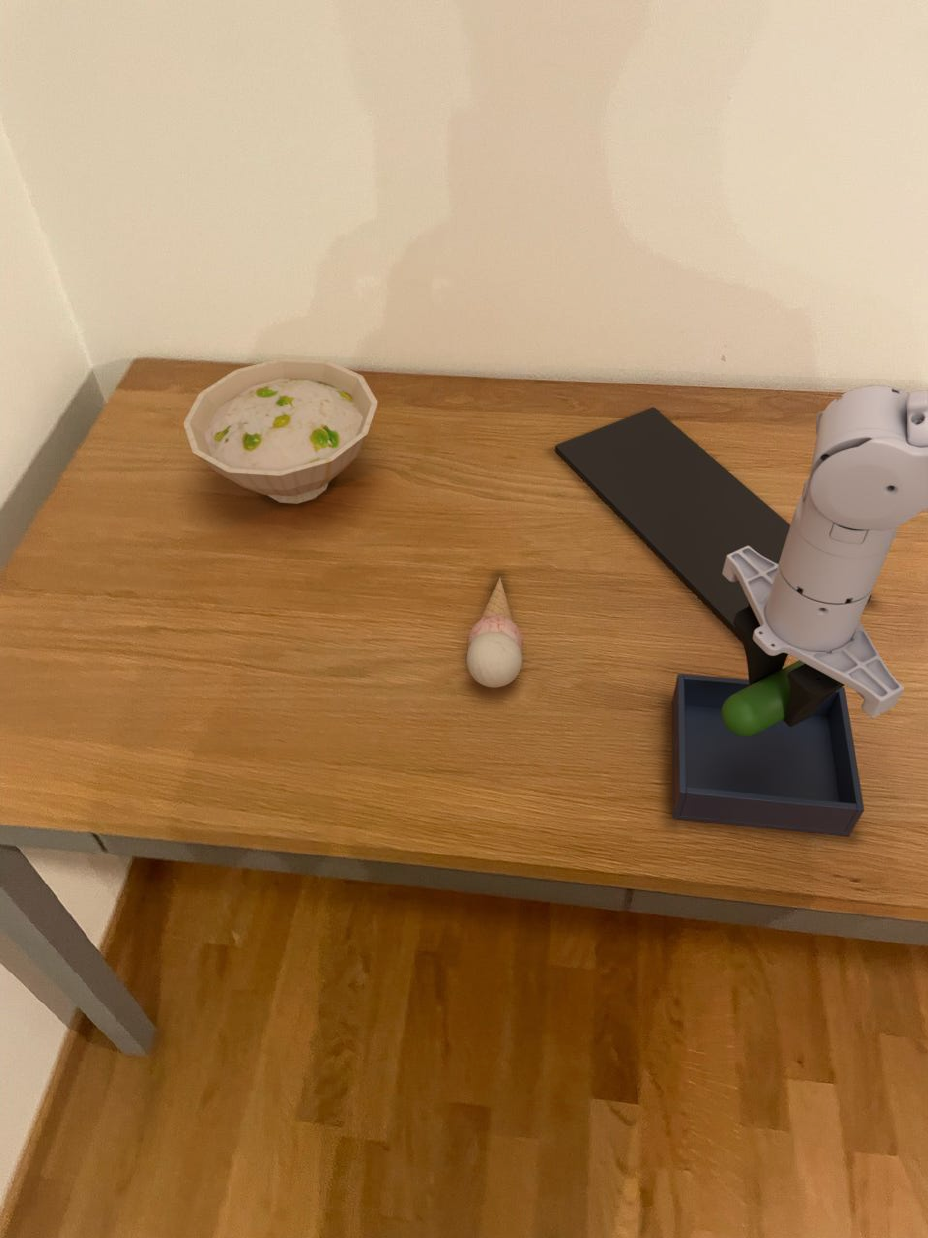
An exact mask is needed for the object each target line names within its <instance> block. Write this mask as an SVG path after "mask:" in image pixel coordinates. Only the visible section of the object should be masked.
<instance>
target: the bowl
mask: <svg viewBox="0 0 928 1238" xmlns="http://www.w3.org/2000/svg"><path fill="white" fill-rule="evenodd" d="M378 404H379V402H378V400H377V398H376V397H375V395H374V392H373V391H372V390H371V388H370V386H369V384H368V382H367V380H366V379H365V377H364V376H363V375H361V374H359V373H358V372H355V371H352V370H351V369H348V368H346V367H344V366H342V365H340V364H338V363H335V362H333V361H330V360H328V359H310V358H293V357H292V358H291V357H290V358H289V357H288V358H287V357H285V358H284V357H281V358H276V359H272V360H269V361H265V362H261V363H257V364H253V365H249V366H245V367H241V368H237V369H235V370H233V371H232V372H230V373H229V374H226V376H223V377H222V378H221V379H219V380H218V381H216V382H215V383H212V384H211V385H209V386H208V387H207V388H205V389H204V390H202V391H201V392H199V394H198V395H197V397H196V398H195V400H194V403H193V405H192V406H191V408H190V410H189V412H188V413H187V415H186V417H185V419H184V421H183V423H182V425H183V427H184V430H185V433H186V436H187V439H188V442H189V445H190V447H191V452H192V453H193V454H194V455H195V456H196V457H198V458H199V459H200V461H202V462H204V464H206V465H207V466H208V467H209V468H210V469H212V470H213V471H214V472H216V473H218V474H219V475H221V476H223V477H225V478H226V479H228V480H230V481H232V482H234V483H236V484H237V485H239V486H241V487H242V488H245V489H248V490H250V491H252V492H255V493H259V494H260V495H264V496H268V497H269V498H271V499H272V500H274V501H276V502H278V503H280V504H281V503H283V504H296V505H297V504H300V503H301V504H302V503H304V502H307V501H310V500H314V499H316V498H317V497H318V496H319V495H322V493H324V492H325V491H326V490H327V488H328V486H329V483H330V481H332V480H333V479H334V478H336V477H337V476H339V474H341V473H342V472H343V471H344V470H345V469H346V468H347V467H348V466H349V465H350V464H351V463H352V462H353V461H354V460H355V459H356V458H357V457H358V456H359V454H360V452H361V450H362V447H363V445H364V443H365V441H366V439H367V436H368V434H369V431H370V427H371V425H372V422H373V418H374V416H375V413H376V411H377V407H378Z"/></svg>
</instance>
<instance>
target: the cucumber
mask: <svg viewBox="0 0 928 1238" xmlns="http://www.w3.org/2000/svg"><path fill="white" fill-rule="evenodd" d="M803 664H805V663H804V662H802V661H800V660H797V661H795V662H793V663H791V664H789V665H787V666H785V667H783V669H781V670H779V671H777V672H775V673H774V674H772V675H770V676H768V677H766V678H764V679H762V680H760V681H758V682H756V683H754V684H752V685H750V686H748V687H746V688H745V689H743V690H741V691H739V692H737V693H735V694H733V695H731V696H730V697H729V698H728V699H727V700H726V701H725V703H724V704H723V707H722V711H721V716H722V721H723V723H724V725H725V726H726V728H727V729H728V730H729V731H730V732H732V733H733V734H735V735H738V736H742V737H749V736H753V735H756V734H758V733H760V732H761V731H763V730H765V729H767V728H769V727H771V726H773V725H774V724H776V723H778V722H780V721H782V720H784V712H785V709H786V707H787V704H788V701H789V697H790V684H789V680H788V677H787V674H788V672H790V671H792V670H794V669H796V668H798V667H800V666H801V665H803Z"/></svg>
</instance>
